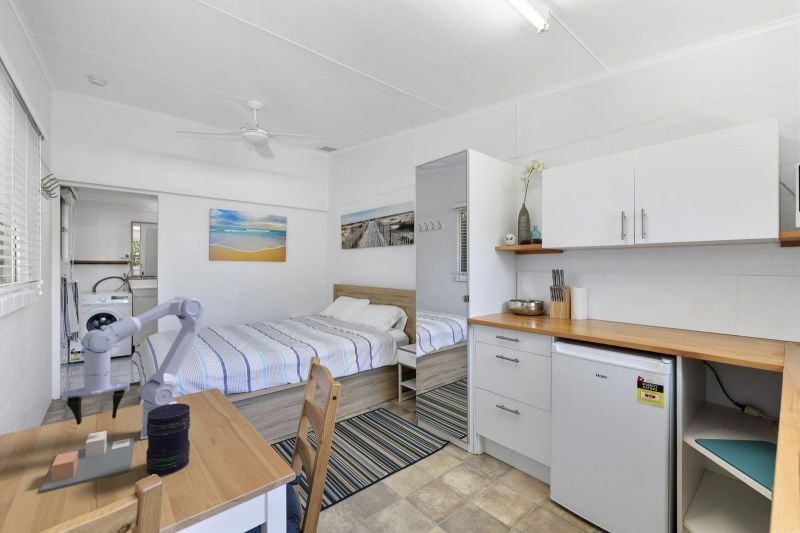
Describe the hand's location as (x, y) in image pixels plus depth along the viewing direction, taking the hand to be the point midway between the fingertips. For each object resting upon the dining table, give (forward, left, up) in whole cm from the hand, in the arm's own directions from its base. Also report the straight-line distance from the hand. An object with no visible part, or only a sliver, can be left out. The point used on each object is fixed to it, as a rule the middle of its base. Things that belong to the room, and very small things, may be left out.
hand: (97, 420), depth 103 cm
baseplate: (0, +6, -9) cm, 11 cm away
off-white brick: (0, 0, -9) cm, 9 cm away
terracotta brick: (+5, +10, -9) cm, 14 cm away
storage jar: (-17, +18, -10) cm, 27 cm away
